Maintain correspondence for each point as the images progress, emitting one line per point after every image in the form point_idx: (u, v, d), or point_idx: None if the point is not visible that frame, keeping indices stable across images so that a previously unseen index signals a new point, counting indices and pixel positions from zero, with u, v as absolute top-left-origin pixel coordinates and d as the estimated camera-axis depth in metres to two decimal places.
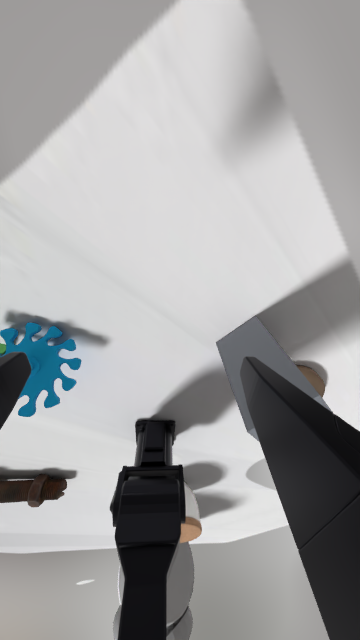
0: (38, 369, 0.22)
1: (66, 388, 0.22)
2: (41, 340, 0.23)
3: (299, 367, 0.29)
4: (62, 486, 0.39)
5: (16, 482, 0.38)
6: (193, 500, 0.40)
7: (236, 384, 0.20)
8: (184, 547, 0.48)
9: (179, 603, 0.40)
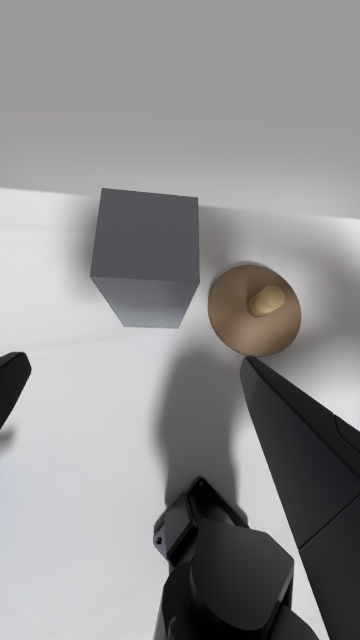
0: None
1: None
2: None
3: None
4: None
5: None
6: None
7: None
8: None
9: None
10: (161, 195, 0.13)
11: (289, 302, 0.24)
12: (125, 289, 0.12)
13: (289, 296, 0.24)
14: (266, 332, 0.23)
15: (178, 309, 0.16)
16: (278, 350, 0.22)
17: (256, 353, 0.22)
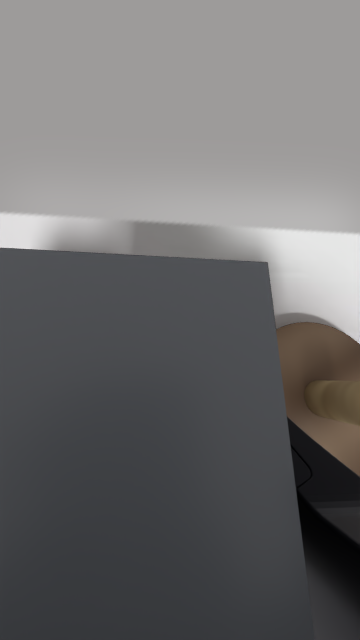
0: None
1: None
2: None
3: None
4: None
5: None
6: None
7: None
8: None
9: None
10: (147, 260, 0.04)
11: None
12: None
13: None
14: (341, 446, 0.13)
15: None
16: None
17: None
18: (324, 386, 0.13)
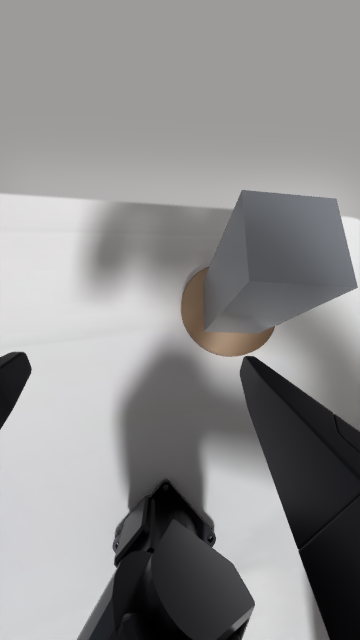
0: None
1: None
2: None
3: None
4: None
5: None
6: None
7: (223, 301, 0.15)
8: None
9: None
10: (300, 196, 0.12)
11: None
12: (266, 294, 0.12)
13: None
14: None
15: (289, 314, 0.16)
16: (251, 350, 0.22)
17: (228, 353, 0.21)
18: None
